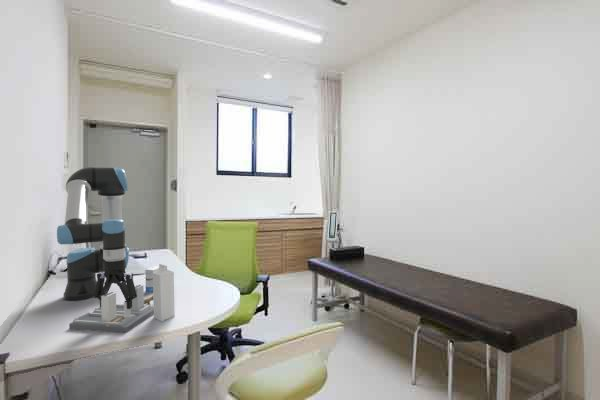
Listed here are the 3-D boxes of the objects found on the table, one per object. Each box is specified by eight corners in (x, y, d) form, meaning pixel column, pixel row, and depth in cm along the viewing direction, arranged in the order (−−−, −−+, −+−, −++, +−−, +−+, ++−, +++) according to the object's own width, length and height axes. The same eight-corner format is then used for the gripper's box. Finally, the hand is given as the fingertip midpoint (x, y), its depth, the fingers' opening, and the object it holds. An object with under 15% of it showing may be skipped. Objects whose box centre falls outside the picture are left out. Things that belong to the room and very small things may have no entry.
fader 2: (131, 311, 130) (130, 287, 129) (137, 308, 134) (137, 284, 133) (137, 312, 129) (137, 287, 129) (144, 308, 133) (143, 284, 133)
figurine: (128, 314, 138) (163, 301, 145) (125, 305, 137) (161, 292, 144) (128, 311, 141) (163, 298, 148) (125, 302, 141) (160, 289, 147)
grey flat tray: (69, 328, 119) (69, 320, 119) (108, 308, 139) (108, 301, 139) (126, 332, 116) (126, 323, 116) (158, 311, 136) (157, 303, 136)
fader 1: (102, 321, 121) (101, 295, 120) (109, 317, 125) (108, 291, 124) (109, 321, 120) (108, 295, 120) (116, 317, 124) (115, 292, 124)
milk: (167, 313, 134) (166, 262, 133) (174, 316, 131) (174, 264, 130) (153, 317, 129) (152, 265, 129) (161, 321, 126) (160, 267, 125)
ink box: (153, 292, 160) (153, 269, 160) (145, 291, 161) (144, 269, 161) (164, 287, 169) (163, 265, 168) (156, 286, 170) (155, 265, 169)
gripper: (81, 260, 119) (83, 318, 120) (133, 262, 116) (135, 321, 117) (96, 256, 126) (98, 310, 127) (146, 257, 123) (147, 313, 124)
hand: (116, 316), depth 122 cm, fingers open, 9 cm apart
